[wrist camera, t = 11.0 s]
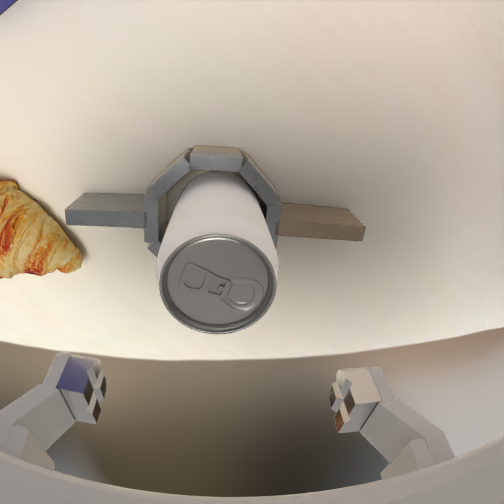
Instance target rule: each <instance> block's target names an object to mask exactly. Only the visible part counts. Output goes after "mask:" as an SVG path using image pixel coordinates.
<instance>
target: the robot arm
mask: <svg viewBox="0 0 504 504" xmlns="http://www.w3.org/2000/svg"><path fill="white" fill-rule="evenodd" d="M101 367H102V365H101V362H100V359H97V358H92V357H87V356H81V355H77V354H71V353H66V352H61V351H60V352H59V353H57V355H56V357H55V359H54V361H53V363H52V365H51V367H50V369H49V371H48V374H47V376H46V378H45V380H44V382H43V384H42V385H40V384H39V385H37V386H36V387H34V388H33V389H31V390H30V391H28V392H27V393H26V394H24V395H23V396H21V397H19V398H18V399H17V400H15V401H14V402H12V403H11V404H10V405H8V406H6V407H5V408H3V409H2V410H0V504H504V436H503V437H501V438H498V439H496V440H494V441H492V442H490V443H488V444H486V445H483V446H481V447H479V448H477V449H474V450H472V451H469V452H467V453H464V454H462V455H459V456H457V457H455V456H454V454H453V452H452V449H451V447H450V445H449V443H448V441H447V439H446V437H445V434H444V432H443V431H442V430H440V429H439V428H438V427H436V426H435V425H434V424H432V423H431V422H429V421H428V420H426V419H425V418H424V417H422V416H421V415H420V414H418V413H417V412H416V411H414V410H412V409H411V408H410V407H409V406H407V405H406V404H404V403H403V402H402V401H400V400H399V399H396V400H395V398H394V396H393V394H392V392H391V389H390V387H389V385H388V383H387V381H386V379H385V377H384V374H383V372H382V370H381V368H379V367H366V368H352V369H340V370H339V371H338V372H337V375H336V379H337V381H336V382H335V383H333V384H332V386H331V388H330V393H329V402H330V406H331V409H332V410H333V411H335V412H336V415H335V418H334V420H335V423H336V427H337V430H338V433H344V432H354V431H360V433H361V434H362V435H363V436H364V437H365V438H366V439H367V440H368V441H369V442H370V443H371V444H372V445H373V446H374V447H375V448H376V449H377V450H378V451H379V452H380V453H381V454H382V455H383V456H384V457H385V458H386V459H387V460H388V461H389V462H390V464H389V465H388V466H387V467H386V468H385V469H384V470H383V471H382V472H381V477H382V480H379V481H375V482H370V483H366V484H361V485H356V486H351V487H345V488H339V489H333V490H327V491H319V492H312V493H303V494H293V495H281V496H265V497H203V496H185V495H175V494H165V493H155V492H148V491H142V490H135V489H129V488H123V487H118V486H113V485H108V484H103V483H98V482H94V481H90V480H86V479H82V478H78V477H74V476H71V475H67V474H63V473H60V472H57V471H53V469H54V466H55V464H54V462H53V460H52V459H51V458H50V457H49V456H48V455H47V453H46V452H45V451H46V450H47V449H48V448H49V447H50V446H51V445H52V444H53V443H54V442H55V441H56V440H57V439H58V438H59V437H60V436H61V435H62V434H63V433H64V432H65V431H66V430H67V429H68V428H69V427H71V426H72V425H73V424H74V423H75V420H76V421H82V422H86V423H92V424H97V423H98V419H99V415H100V412H101V408H100V405H99V403H100V402H101V401H103V400H104V398H105V394H106V378H105V375H104V373H102V372H101V371H100V370H101Z"/></svg>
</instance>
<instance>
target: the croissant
mask: <svg viewBox="0 0 504 504" xmlns="http://www.w3.org/2000/svg"><path fill="white" fill-rule="evenodd" d="M17 189H18V186H17V184H16V183H15V182H14V181H8V180H0V279H1V278H12V277H13V276H14V275H15V274H19V273H28V274H34V275H38V276H43V275H45V274H47V273H52V272H54V271H55V270H56V269H58V270H59V271H61V272H63V273H67V274H68V273H70V272H73V271H75V270H76V269H79V268H80V267H81V264H82V260H83V258H82V255H81V253H80V251H79V249H78V247H76V246H75V245H74V244H73V242H72V241H71V240H69V238H68V237H67V235H66V234H65V233H64V231H63V230H62V228H61V227H60V225H59V224H58V223H57V222H56V221H55V220H54V219H53V218H52V217H50V216H49V215H48V214H47V213H46V212H45V211H44V210H43V208H41V207H40V206H39V204H38V203H37V202H36V201H34V200H32V199H31V198H30V197H28V196H27V195H26V194H24V193H23V192H22V191H20V190H17Z"/></svg>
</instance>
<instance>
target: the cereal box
mask: <svg viewBox="0 0 504 504" xmlns="http://www.w3.org/2000/svg"><path fill="white" fill-rule="evenodd" d="M16 1H18V0H0V15H1V14H2V13H3V12H4V11H6V10H7V9H8V8H9V7H10V6H11V5H13V4H14V3H15V2H16Z"/></svg>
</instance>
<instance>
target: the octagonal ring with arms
mask: <svg viewBox="0 0 504 504" xmlns="http://www.w3.org/2000/svg"><path fill="white" fill-rule="evenodd" d="M193 150H210V151H225V152H238V153H241V152H240V150H239V148H228V147H213V146H194V148H193ZM185 152H187V153H188V154H189V156H190V154H191V152H192V151H191V150H190V149H189V148H188V149H186V150H185V151H184V152H183V153H182V154H181V155H180V156H179V157H177V158H176V159H175V160H174V161H173V162H172V163H171V164H170V165H169V166H167V167H166V168H165V169H164V170H163V171H162V172H161V173H160V174H159V175H158V176H157V177H156V178H155V180H156V179H157V178H158V177H159V176H160V175H161V174H162V173H163V172H164V171H165V170H166V169H167V168H169V167H170V166H171V165H172V164H173V163H174V162H175V161H176V160H177V159H179V158H180V157H181V156H182V155H183V154H184V153H185ZM241 155H242V157H243V158H245V157H246V156H247V157H248V158H249V159H250V160H251V161H252V163H253V164H254V165H255V166H256V167H257V168H258V166H257V165H256V164H255V163H254V162H253V160H252V159H251V158H250V157H249V156H248V155H247V153H246V152H245V151H244V152H243V153H242V154H241ZM258 170H259V171H260V172H261V173H262V174H263V172H262V171H261V170H260V169H259V168H258ZM263 176H264V177H265V178H266V179H267V180H268V178H267V177H266V176H265V175H264V174H263ZM155 180H154V181H155ZM154 181H153V182H154ZM268 182H269V183H270V184H271V185H272V183H271V182H270V181H269V180H268ZM272 187H273V185H272ZM273 188H274V187H273ZM274 189H275V188H274ZM281 204H282V210H281V217H280V220H279V221H280V222H279V227H278V228H277V229H276V227H277V225H278V223H277V222H276V223H277V225H276V227H275V233H276V234H277V236H292V237H307V238H322V239H336V240H349V241H362V240H363V236H364V232H365V228H366V227H365V226H364V225H363V224H362V223H361V222H360V221H359V220H358V219H357V218H356V217H355V216H354V215H353V214H352V213H351V212H350V211H349V210H348V209H341V208H332V207H322V206H312V205H301V204H290V203H281ZM259 206H260V208H261V211H262V208H263V200H262V199H261V198H260V199H259ZM168 224H169V223H168V222H167V221H166V193H164V194H163V200H162V230H163V231H164V232H166V229H167V227H168ZM276 231H277V232H278V233H277V232H276ZM274 235H275V234H274Z"/></svg>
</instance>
